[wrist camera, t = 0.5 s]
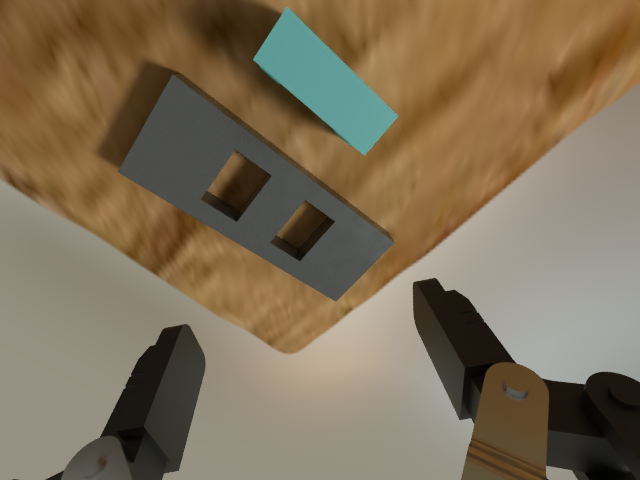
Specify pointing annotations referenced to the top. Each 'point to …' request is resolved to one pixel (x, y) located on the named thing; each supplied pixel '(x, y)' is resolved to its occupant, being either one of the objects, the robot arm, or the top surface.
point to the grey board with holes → (266, 202)
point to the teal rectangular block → (323, 83)
